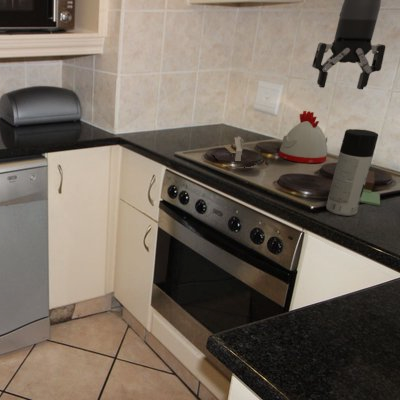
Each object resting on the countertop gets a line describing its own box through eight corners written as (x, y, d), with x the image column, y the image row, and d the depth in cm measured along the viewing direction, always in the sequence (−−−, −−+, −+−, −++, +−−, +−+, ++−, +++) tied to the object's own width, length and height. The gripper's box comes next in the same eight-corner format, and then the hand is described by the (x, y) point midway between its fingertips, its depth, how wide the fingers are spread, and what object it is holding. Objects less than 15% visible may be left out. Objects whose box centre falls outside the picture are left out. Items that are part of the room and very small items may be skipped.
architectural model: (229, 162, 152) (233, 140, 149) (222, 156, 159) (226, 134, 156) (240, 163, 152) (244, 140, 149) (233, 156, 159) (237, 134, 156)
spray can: (361, 218, 114) (385, 136, 106) (330, 215, 115) (352, 134, 107) (349, 207, 120) (371, 129, 112) (320, 205, 121) (340, 127, 113)
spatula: (354, 178, 140) (357, 168, 139) (378, 182, 137) (381, 172, 136) (351, 200, 124) (354, 190, 123) (379, 206, 121) (382, 195, 120)
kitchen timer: (306, 150, 166) (314, 107, 160) (335, 161, 153) (346, 114, 148) (270, 152, 164) (277, 108, 158) (296, 163, 151) (305, 116, 146)
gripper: (329, 17, 109) (313, 89, 115) (399, 18, 106) (379, 92, 112) (319, 16, 116) (304, 84, 122) (385, 17, 113) (367, 87, 119)
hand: (340, 88), depth 117 cm, fingers open, 8 cm apart
